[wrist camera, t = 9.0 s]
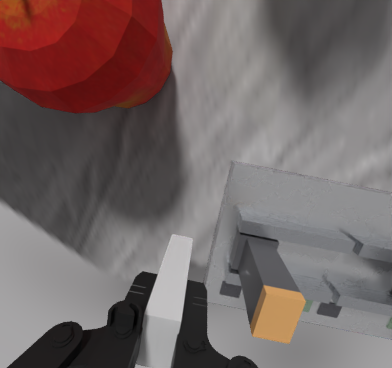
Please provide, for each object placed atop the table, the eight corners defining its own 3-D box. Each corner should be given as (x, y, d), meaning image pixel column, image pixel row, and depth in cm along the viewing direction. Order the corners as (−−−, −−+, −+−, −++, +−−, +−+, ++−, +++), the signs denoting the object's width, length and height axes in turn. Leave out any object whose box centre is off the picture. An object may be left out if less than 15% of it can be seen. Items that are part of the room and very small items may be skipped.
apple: (105, -28, 15) (-223, -531, 4) (205, 38, 16) (196, -209, 4) (62, 84, 17) (-230, -7, 6) (152, 138, 18) (52, 153, 6)
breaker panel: (202, 285, 21) (201, 315, 18) (231, 160, 18) (237, 167, 14) (484, 342, 21) (539, 384, 18) (568, 227, 18) (656, 251, 14)
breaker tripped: (229, 258, 18) (242, 336, 11) (237, 226, 17) (257, 290, 10) (263, 265, 18) (297, 347, 11) (273, 234, 17) (316, 302, 10)
